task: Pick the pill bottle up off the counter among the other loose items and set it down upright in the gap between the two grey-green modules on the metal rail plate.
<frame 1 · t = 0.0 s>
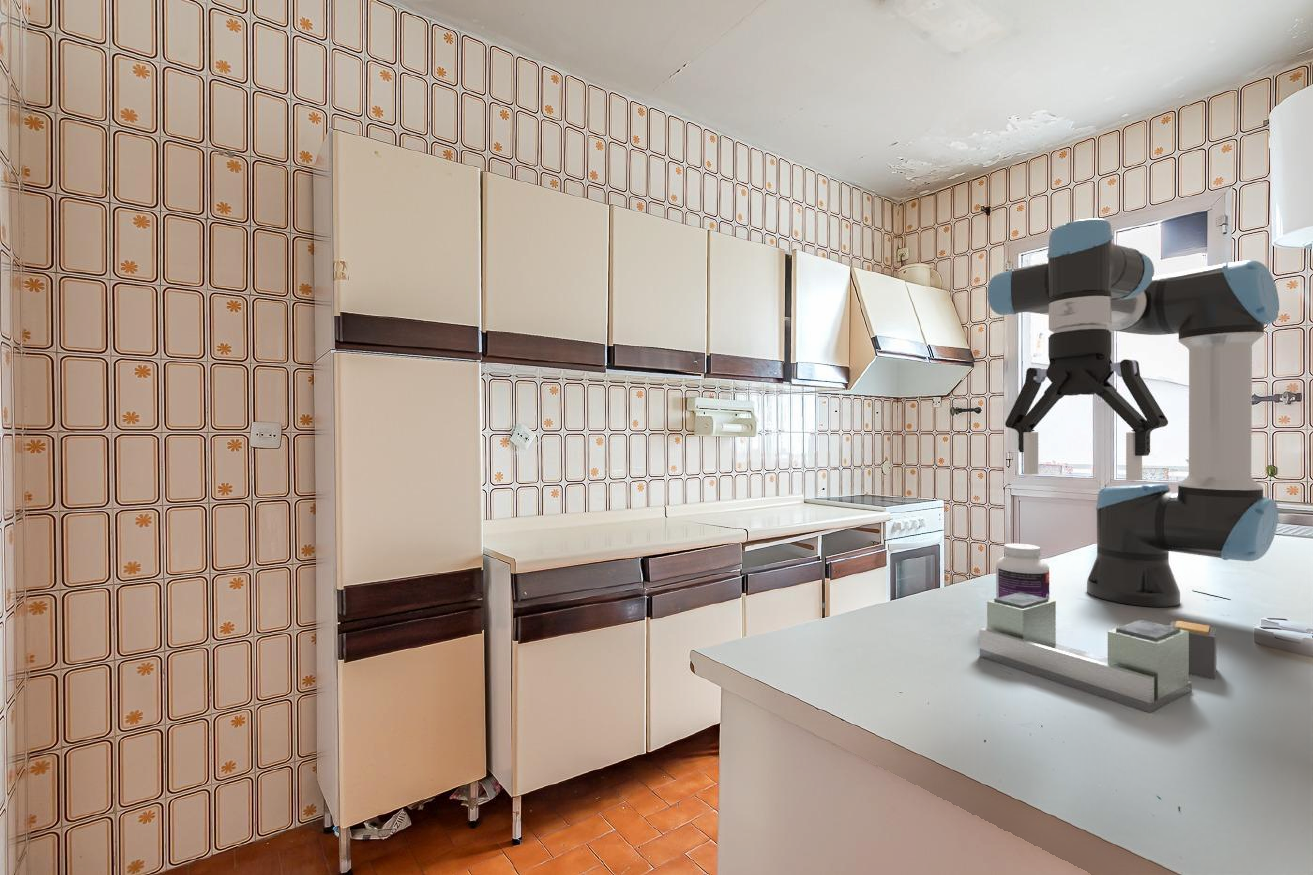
hand: (1079, 477, 89), 28 cm above the counter, fingers open, 13 cm apart
pill bottle: (1022, 628, 107), on the counter
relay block: (1192, 669, 88), on the counter
rail plate: (1077, 672, 88), on the counter
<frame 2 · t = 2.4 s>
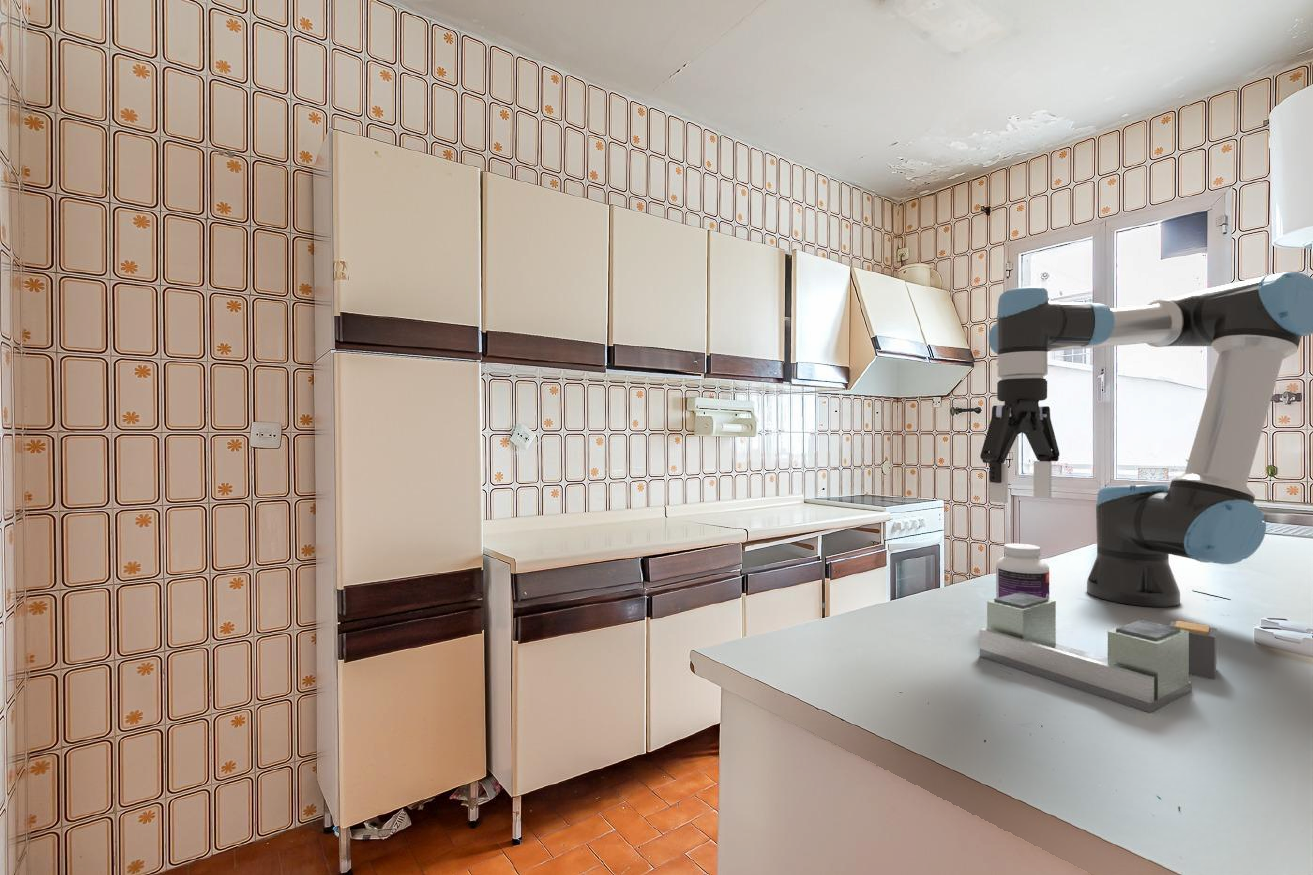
hand: (1021, 499, 107), 23 cm above the counter, fingers open, 13 cm apart
nothing on the counter moved.
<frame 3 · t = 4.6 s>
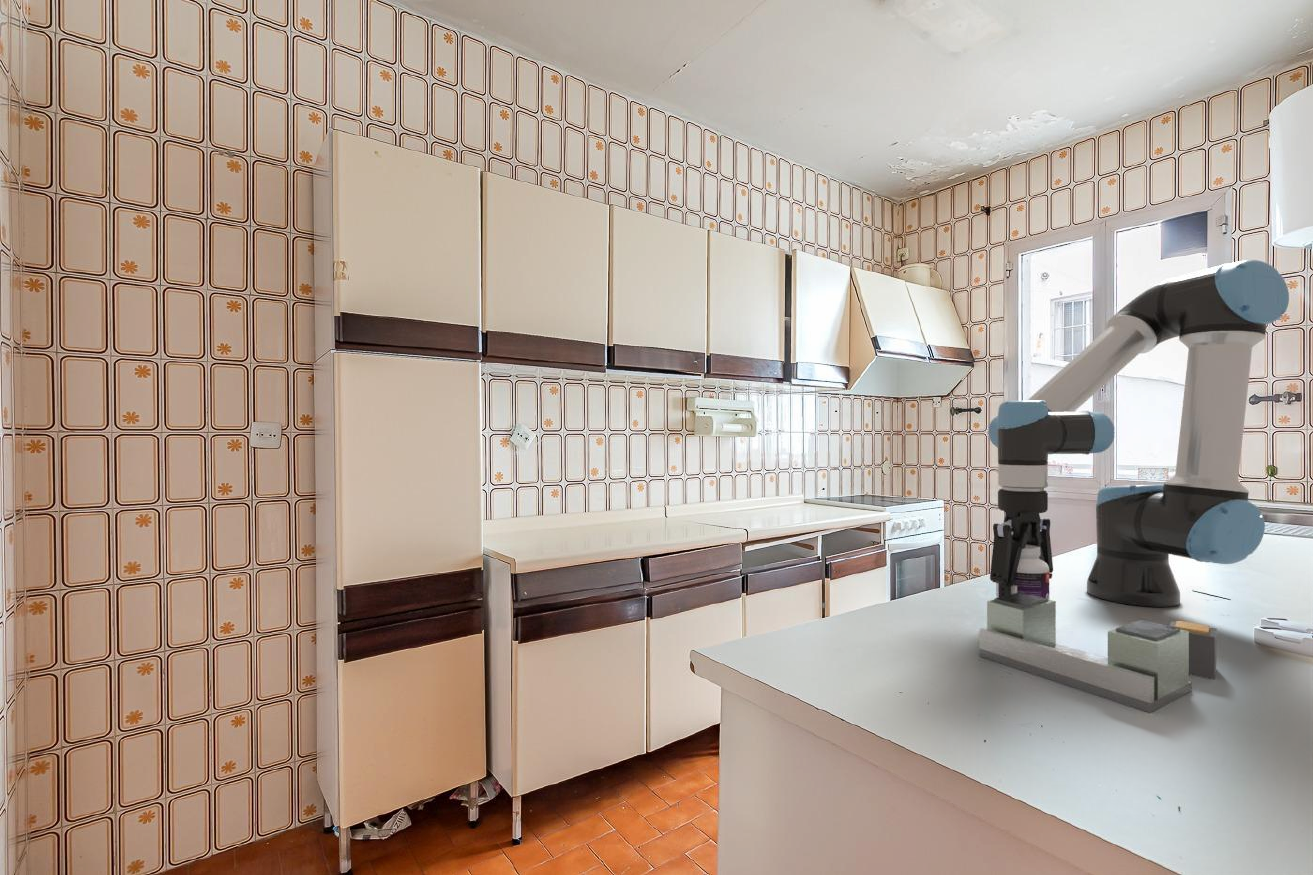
hand: (1022, 617, 107), 2 cm above the counter, fingers closed on pill bottle, 8 cm apart
pill bottle: (1022, 628, 107), on the counter, touching gripper
everything else where it was.
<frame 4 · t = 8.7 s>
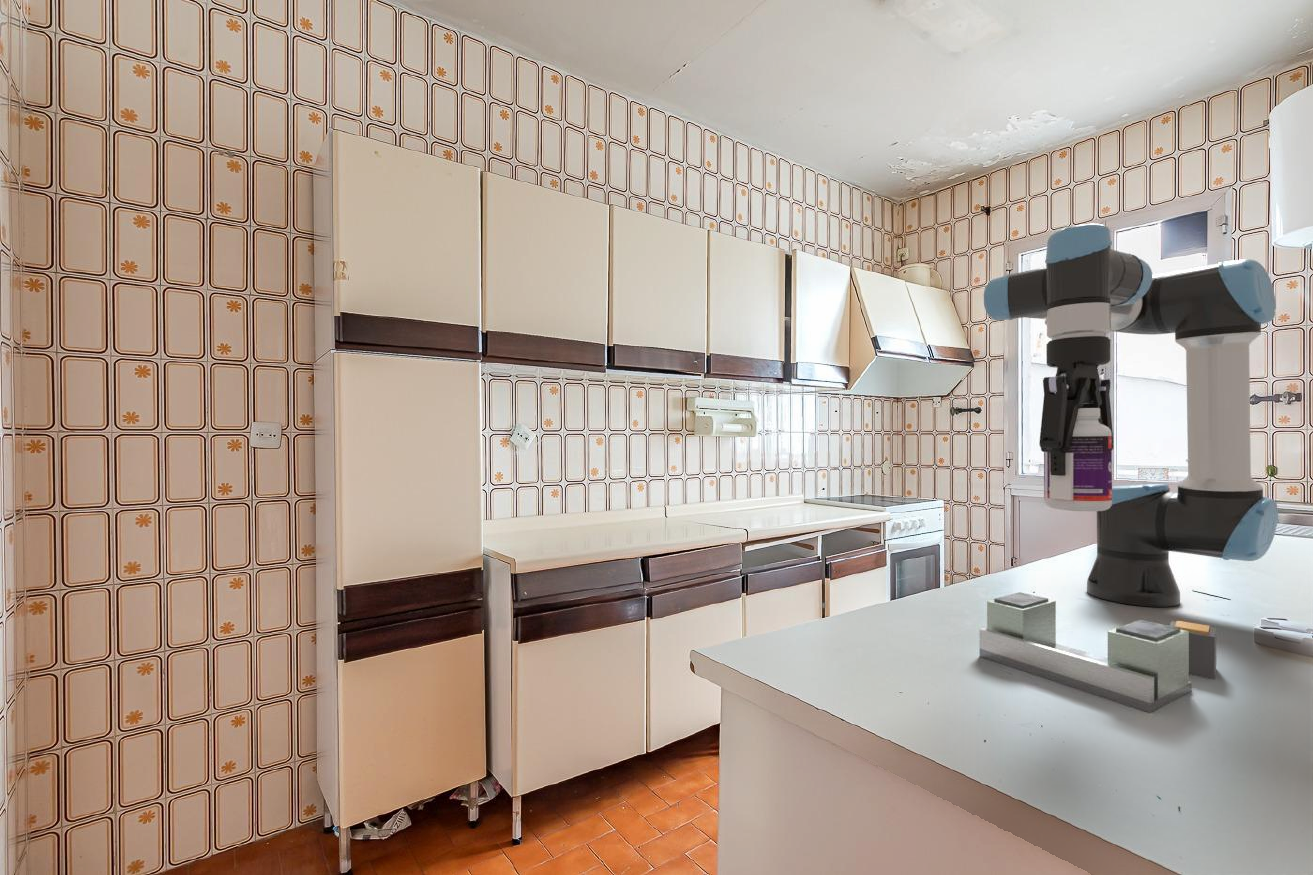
hand: (1077, 496, 87), 25 cm above the counter, fingers closed on pill bottle, 8 cm apart
pill bottle: (1077, 510, 87), point 23 cm above the counter, touching gripper
everything else where it was.
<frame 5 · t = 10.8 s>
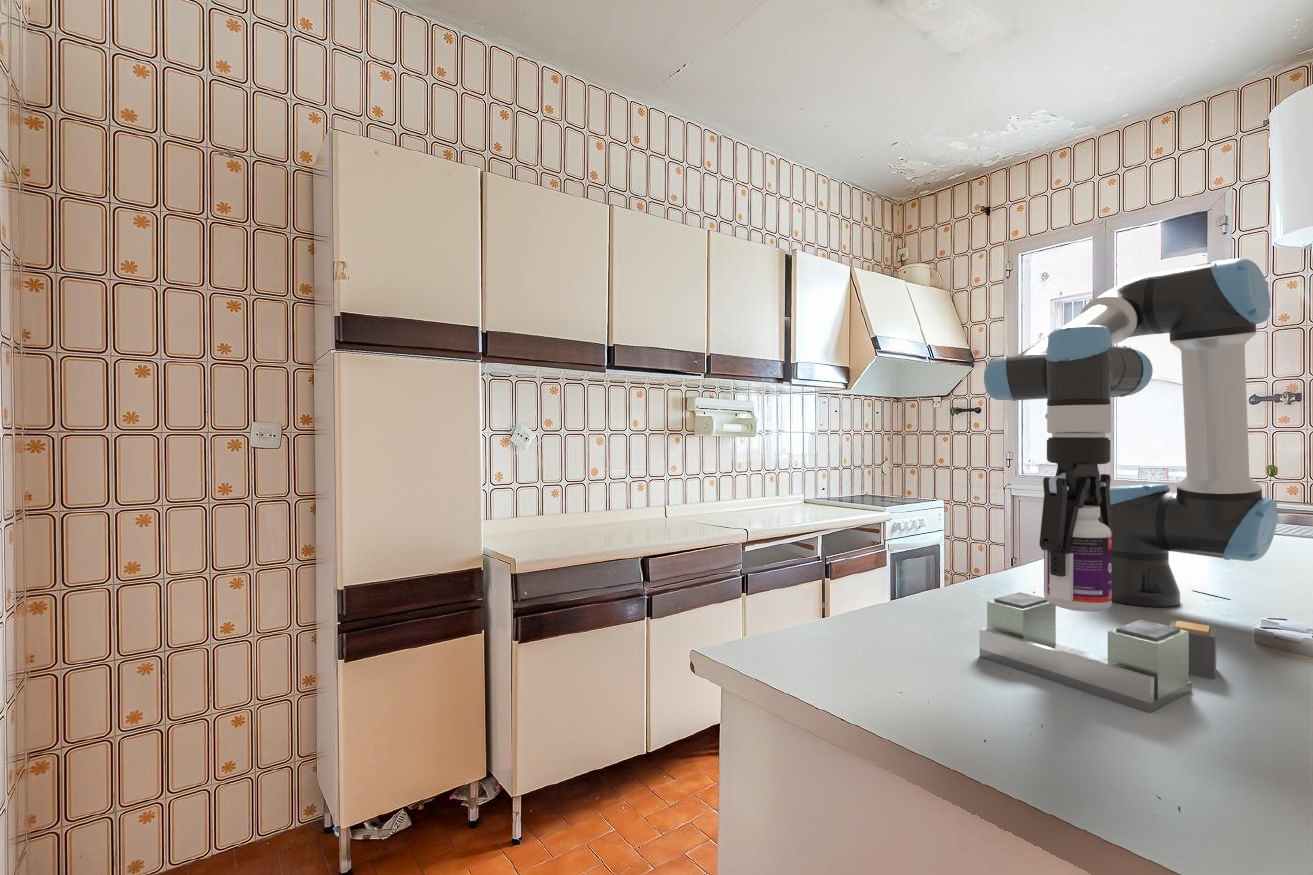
hand: (1077, 593, 88), 11 cm above the counter, fingers closed on pill bottle, 8 cm apart
pill bottle: (1076, 607, 88), point 9 cm above the counter, touching gripper
everything else where it was.
when the fingers open (5 cm above the counter, at t = 12.7 s): pill bottle drops 2 cm, resting on rail plate.
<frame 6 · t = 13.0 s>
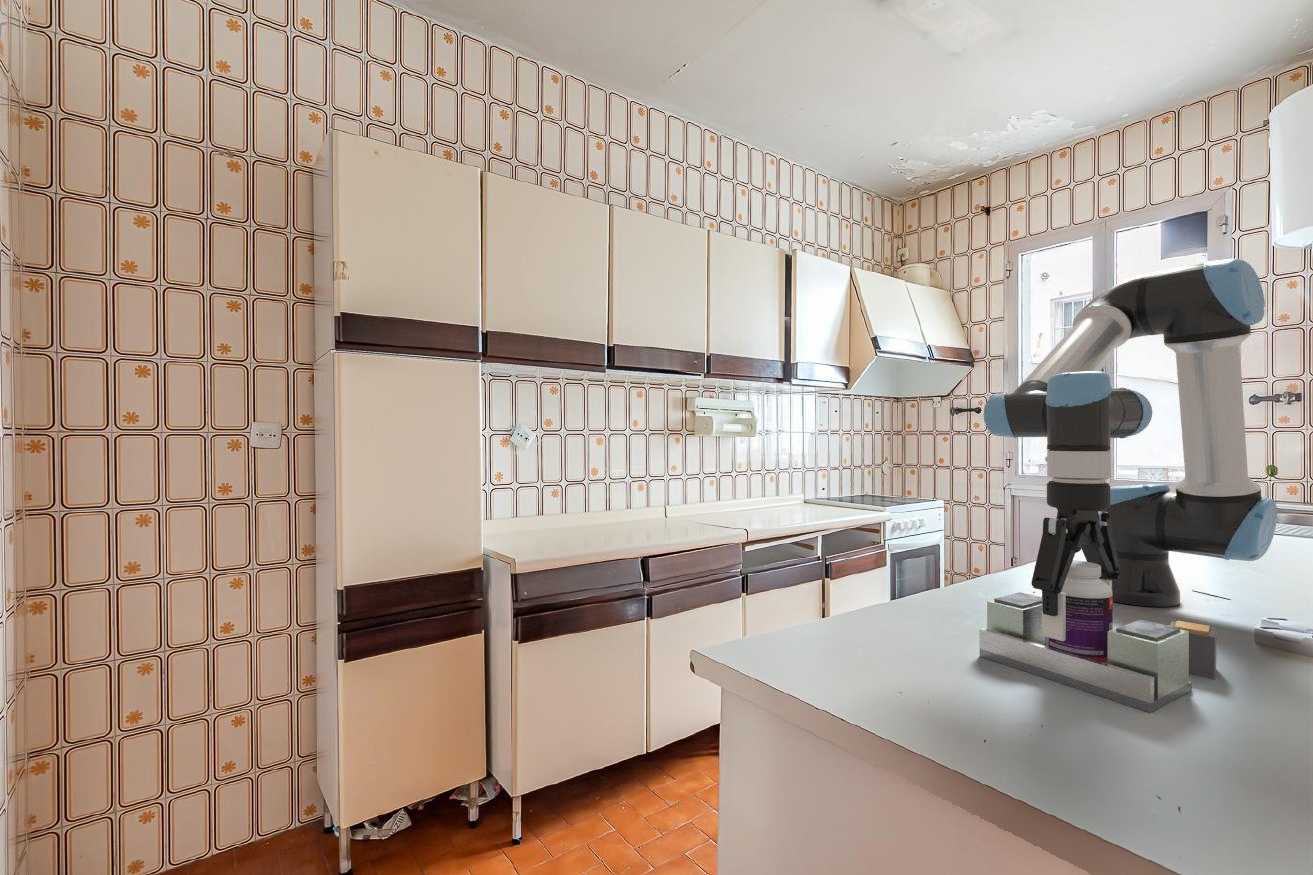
hand: (1077, 629, 88), 6 cm above the counter, fingers open, 12 cm apart
pill bottle: (1078, 664, 88), point 1 cm above the counter, touching rail plate
everything else where it was.
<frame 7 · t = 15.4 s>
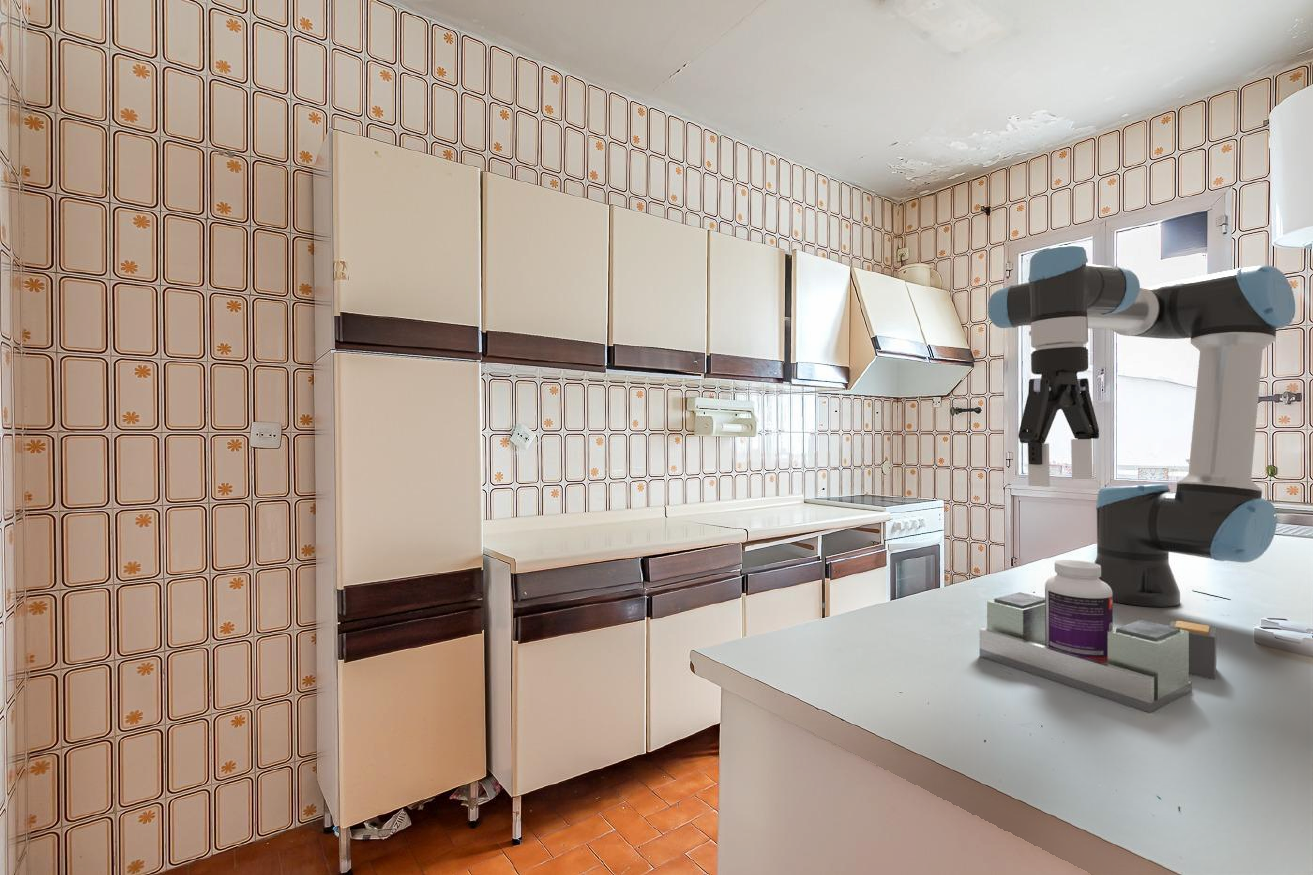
hand: (1061, 482, 97), 26 cm above the counter, fingers open, 13 cm apart
nothing on the counter moved.
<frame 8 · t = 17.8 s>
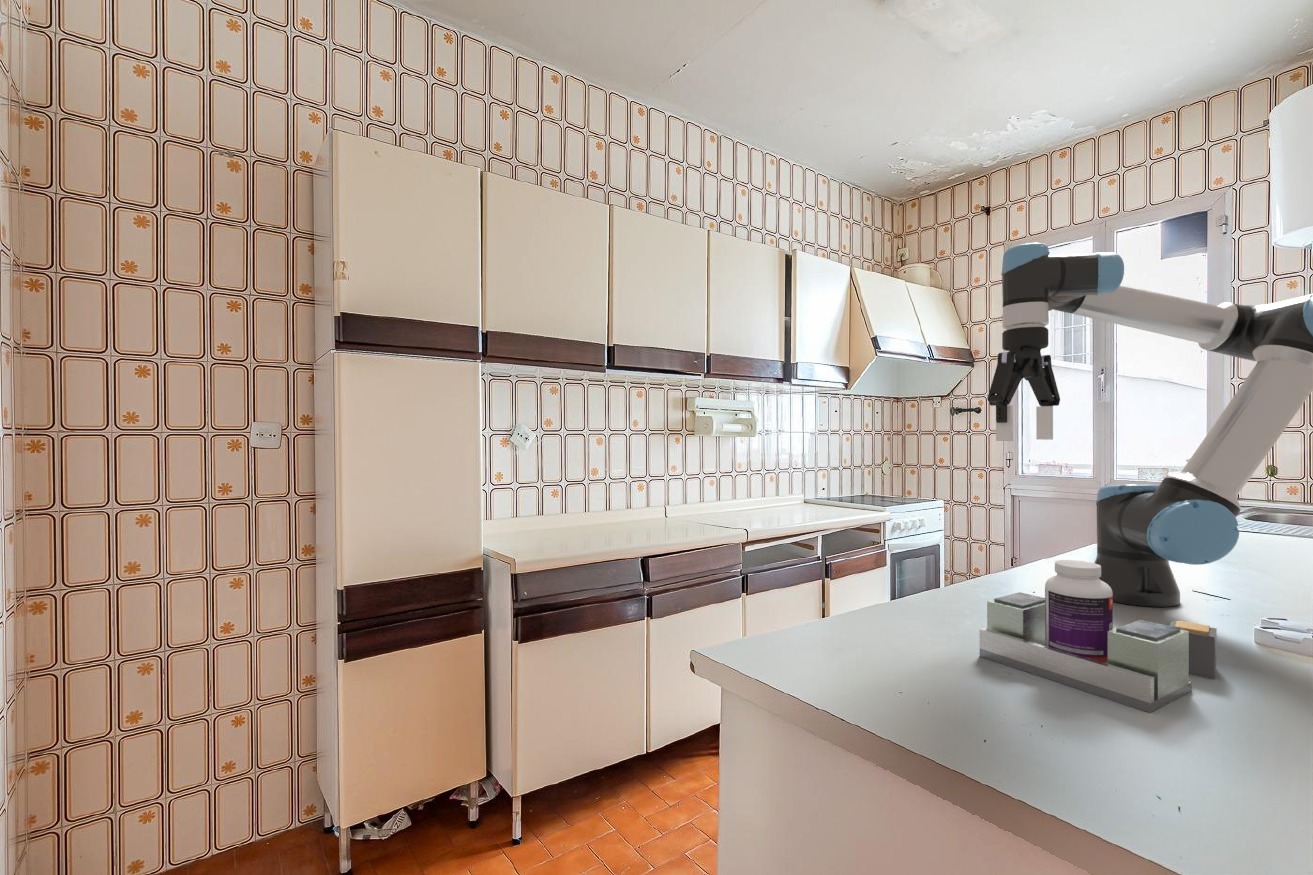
hand: (1025, 440, 116), 33 cm above the counter, fingers open, 13 cm apart
nothing on the counter moved.
at the end: pill bottle inside the target area on the rail plate (0.3 cm from its centre), point 1.0 cm above the rail plate's base; pill bottle tilted 0°; the gripper is holding nothing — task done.
